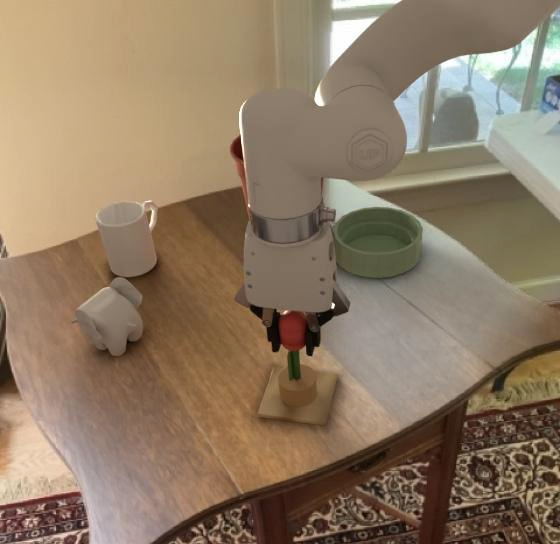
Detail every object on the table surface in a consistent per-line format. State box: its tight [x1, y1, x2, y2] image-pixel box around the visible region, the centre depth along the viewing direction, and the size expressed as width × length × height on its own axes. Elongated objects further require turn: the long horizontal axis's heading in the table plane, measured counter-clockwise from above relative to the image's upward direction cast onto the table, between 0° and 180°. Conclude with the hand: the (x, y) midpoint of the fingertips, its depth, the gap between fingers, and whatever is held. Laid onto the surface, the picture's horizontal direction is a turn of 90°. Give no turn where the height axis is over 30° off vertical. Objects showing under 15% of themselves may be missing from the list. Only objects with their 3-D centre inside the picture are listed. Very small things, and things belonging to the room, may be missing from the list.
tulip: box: [278, 310, 317, 407], centre depth 82 cm, size 5×5×14 cm
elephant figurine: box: [70, 276, 144, 357], centre depth 96 cm, size 10×12×9 cm
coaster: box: [257, 366, 339, 426], centre depth 87 cm, size 9×9×1 cm
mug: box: [94, 200, 159, 278], centre depth 111 cm, size 8×12×10 cm, turn 146°
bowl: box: [332, 206, 424, 279], centre depth 108 cm, size 14×14×5 cm
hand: (294, 345), depth 81 cm, fingers closed on tulip, 3 cm apart
